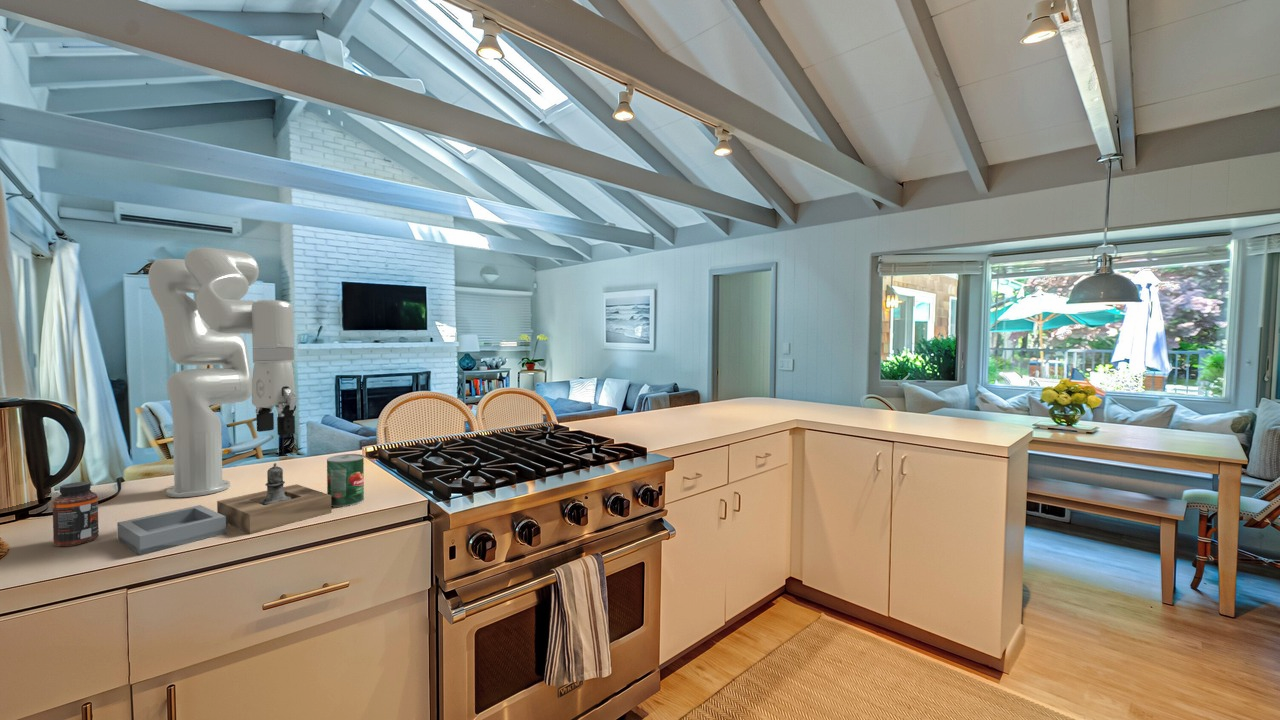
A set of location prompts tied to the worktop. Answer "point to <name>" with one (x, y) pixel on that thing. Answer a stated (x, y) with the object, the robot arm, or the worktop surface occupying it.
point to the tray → (170, 529)
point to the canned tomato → (345, 479)
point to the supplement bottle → (75, 515)
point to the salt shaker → (274, 486)
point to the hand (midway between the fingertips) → (275, 432)
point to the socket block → (273, 509)
